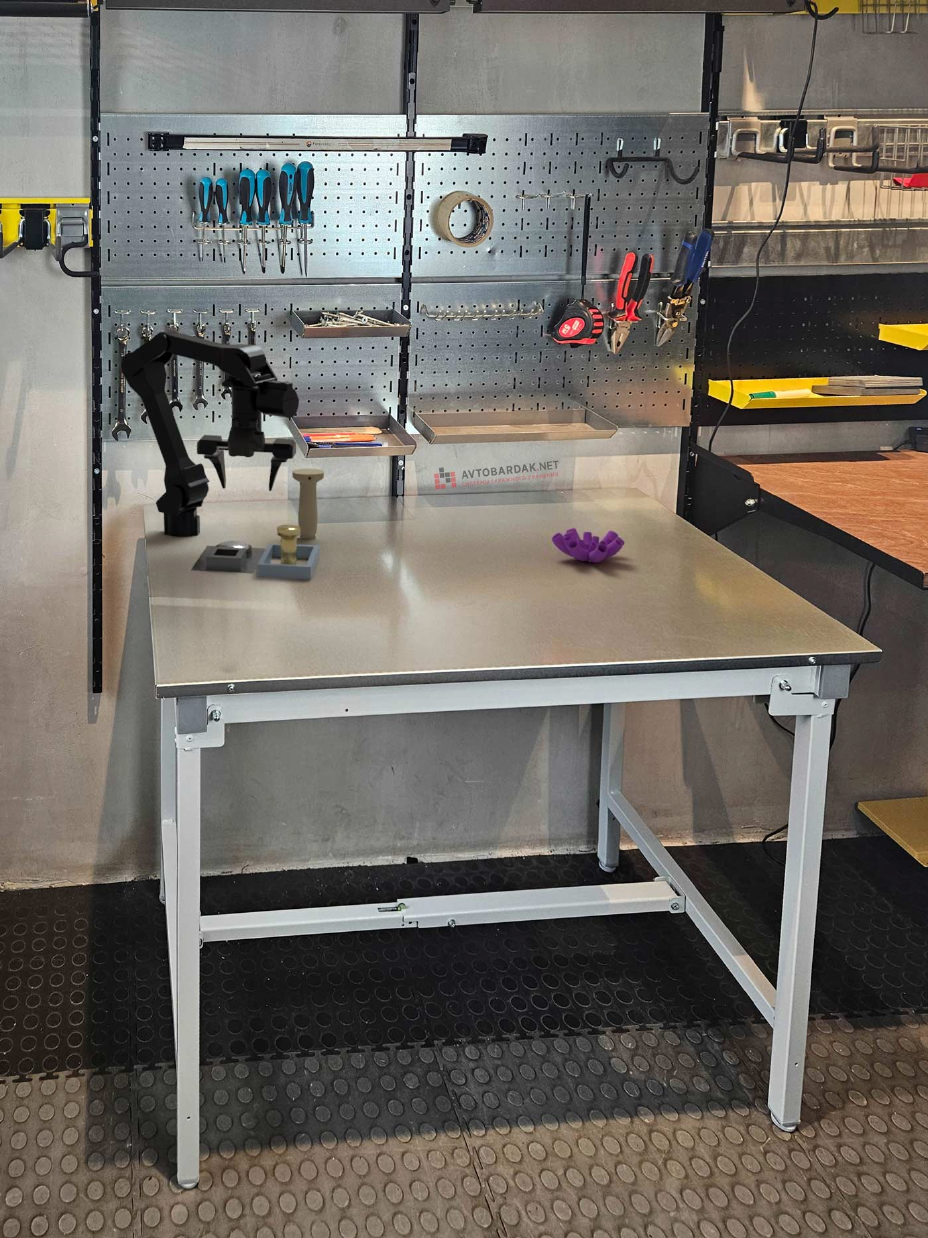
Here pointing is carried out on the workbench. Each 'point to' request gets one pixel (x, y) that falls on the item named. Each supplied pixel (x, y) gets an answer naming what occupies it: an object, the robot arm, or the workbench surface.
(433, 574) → the workbench surface
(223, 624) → the workbench surface
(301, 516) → the handle
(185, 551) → the workbench surface
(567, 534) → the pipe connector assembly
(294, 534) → the pin
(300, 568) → the pin tray
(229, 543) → the grey socket base
